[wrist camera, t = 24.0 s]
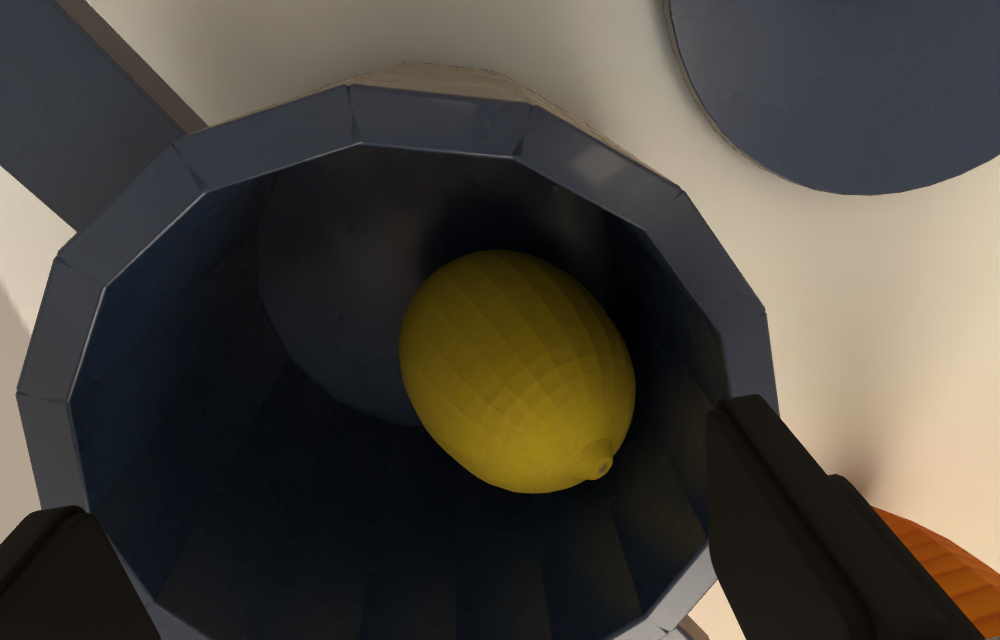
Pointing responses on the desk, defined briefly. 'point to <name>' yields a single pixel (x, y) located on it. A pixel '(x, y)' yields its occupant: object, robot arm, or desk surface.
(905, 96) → the lid
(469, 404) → the lemon
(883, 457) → the desk surface
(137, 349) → the pot
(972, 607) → the carrot
